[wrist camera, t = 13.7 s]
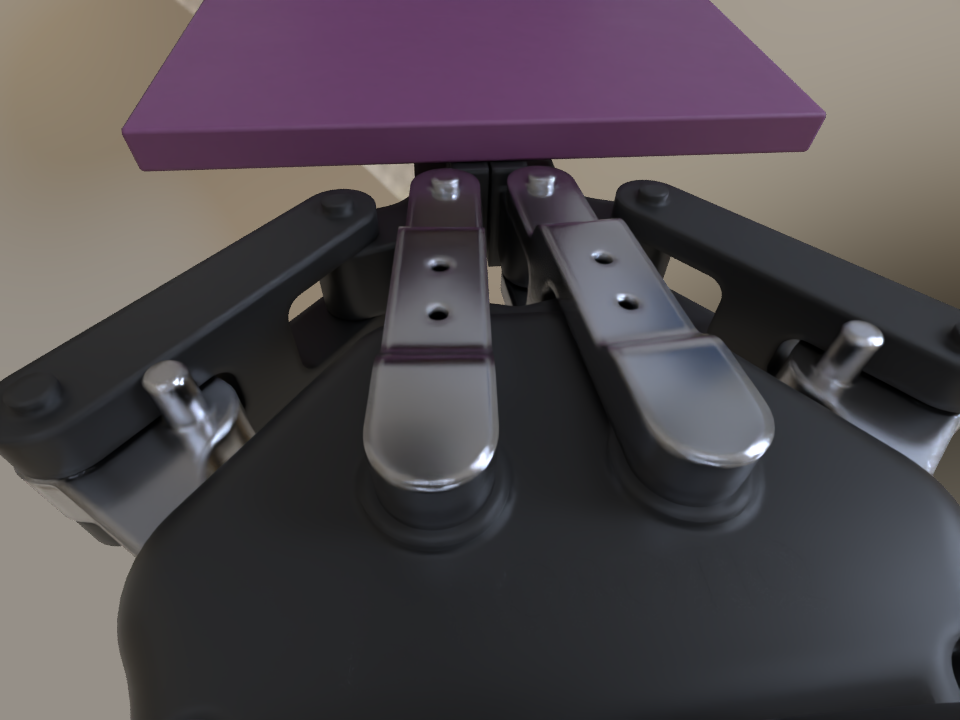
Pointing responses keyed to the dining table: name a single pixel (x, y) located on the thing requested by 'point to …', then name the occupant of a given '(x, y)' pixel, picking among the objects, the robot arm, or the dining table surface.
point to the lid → (462, 85)
